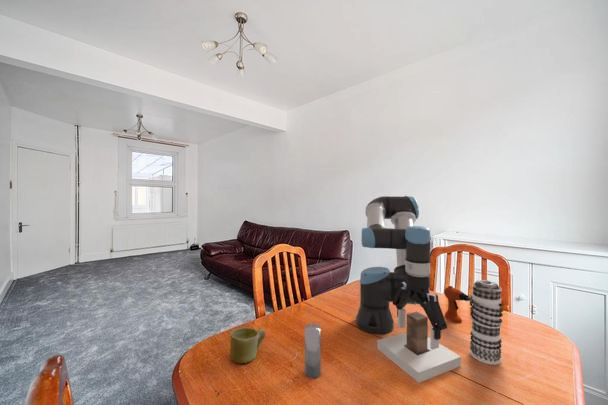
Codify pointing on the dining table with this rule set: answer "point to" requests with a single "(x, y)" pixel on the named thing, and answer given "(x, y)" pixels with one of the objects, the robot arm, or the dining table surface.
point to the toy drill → (454, 303)
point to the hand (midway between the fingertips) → (416, 337)
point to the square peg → (417, 332)
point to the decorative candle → (486, 322)
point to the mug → (245, 344)
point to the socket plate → (418, 358)
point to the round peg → (312, 350)
